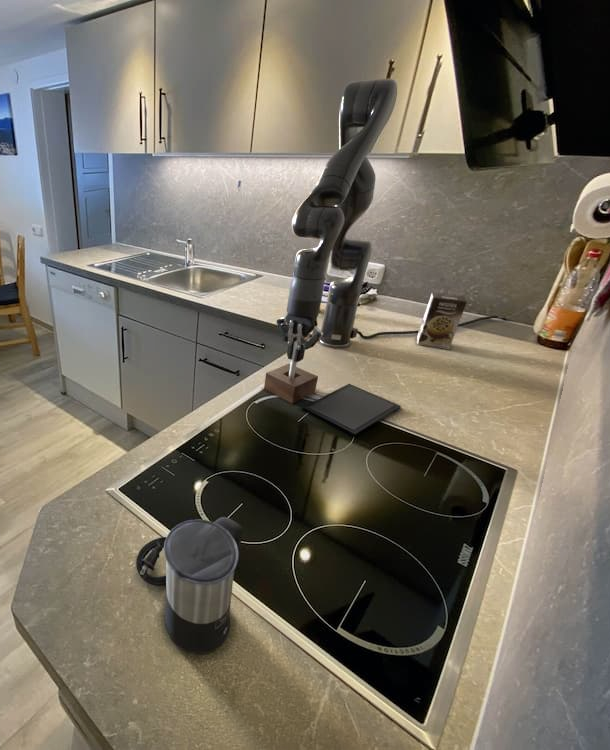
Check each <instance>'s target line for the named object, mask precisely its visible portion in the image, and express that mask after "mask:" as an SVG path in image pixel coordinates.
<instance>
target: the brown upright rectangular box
mask: <svg viewBox="0 0 610 750" xmlns="http://www.w3.org/2000/svg"><path fill="white" fill-rule="evenodd" d="M467 302H468V301H467V299H466V297H465V296H464V295H463V296H462V295H453V294H446V293H438V292H431V294H430V297H429V300H428V303H427V306H426V308H425V312H424V315H423V318H422V321H421V324H420V326H419V329H418V330H419V333H417V336H416V344H417V345H419V346H426V347H433V348H439V349H444V350H450V348H451V345H452V342H453V340H454V337H455V335H456V332H457V329H458V328H459V327H458V324H460V322H461V320H462V316H463V314H464V312H465V308H466V306H467Z"/></svg>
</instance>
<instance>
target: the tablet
mask: <svg viewBox="0 0 610 750" xmlns="http://www.w3.org/2000/svg"><path fill="white" fill-rule="evenodd" d="M401 408H402V405H400V404H397V403H395V402H393V401H391V400H388V399H386V398H384V397H381V396H379V395H377V394H375V393H372V392H370V391H368V390H366V389H363V388H361V387H358V386H356V385H354V384H351V383H347V384H346V385H344V386H342V387H340V388H338V389H336V390H333V391H331V392H330V393H328V394H325V395H324V396H322V397H319V398H318V399H316V400H313V401H312V402H310V403H308V404H306V405H304V406H302V408H301V410H302V411H304V412H305V413H307V414H309V415H311V416H313V417H315V418H317V419H318V420H320V421H322V422H324V423H326V424H328V425H330V426H331V427H334V428H335V429H337V430H339V431H341V432H343V433H345V434H347V435H349V436H350V437H353V438H356V437H357V436H359V435H360V434H362V433H364V432H365V431H367V430H369V429H371V427H374V426H375V425H377V424H378V423H380V422H381V421H383V420H384V419H386V418H388V417H389V416H391V415H393V414H394V413H396V412H398V411H399V410H401Z"/></svg>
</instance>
